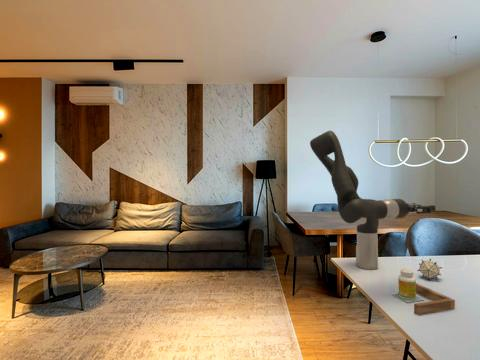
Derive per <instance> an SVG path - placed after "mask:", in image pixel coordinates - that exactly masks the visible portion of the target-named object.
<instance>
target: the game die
mask: <svg viewBox="0 0 480 360" xmlns="http://www.w3.org/2000/svg"><path fill="white" fill-rule="evenodd" d="M431 259H432V258H429V259H428V260H423V259H421V263H418V265H419V269H417V271H416V272H419V273H421V274H422V277H426V278H427V280H428V281H430V279H433V278H434V279H435V278H436V279H439V278H438V277H439V276H442V274H441V272H440V271H441V269H442V268H443V267H441V266H439V265H438V264H437V263H438V262H437V261H435V262H434V261H433V260H431Z"/></svg>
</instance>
